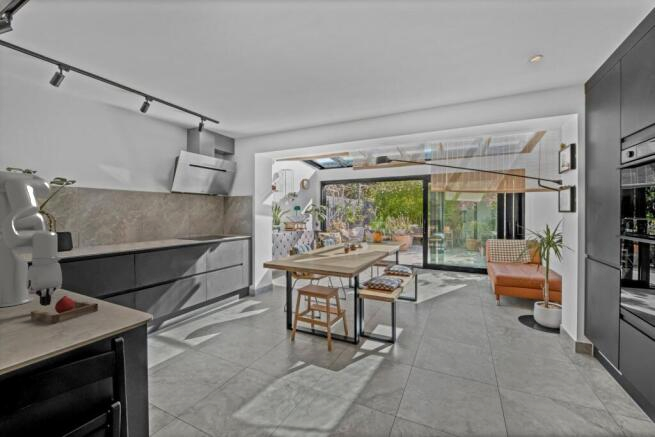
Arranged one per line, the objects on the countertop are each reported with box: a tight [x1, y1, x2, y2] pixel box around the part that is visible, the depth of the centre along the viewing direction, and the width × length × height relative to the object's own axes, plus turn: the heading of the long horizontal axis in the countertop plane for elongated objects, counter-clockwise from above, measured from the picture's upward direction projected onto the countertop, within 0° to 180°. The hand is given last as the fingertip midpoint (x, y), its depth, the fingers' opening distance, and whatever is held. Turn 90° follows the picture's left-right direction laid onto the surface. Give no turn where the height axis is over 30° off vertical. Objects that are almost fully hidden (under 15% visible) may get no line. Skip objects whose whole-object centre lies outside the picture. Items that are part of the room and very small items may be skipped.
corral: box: [30, 300, 99, 325], centre depth 116 cm, size 14×15×3 cm
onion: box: [54, 294, 75, 314], centre depth 116 cm, size 6×6×8 cm
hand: (45, 304), depth 120 cm, fingers closed
